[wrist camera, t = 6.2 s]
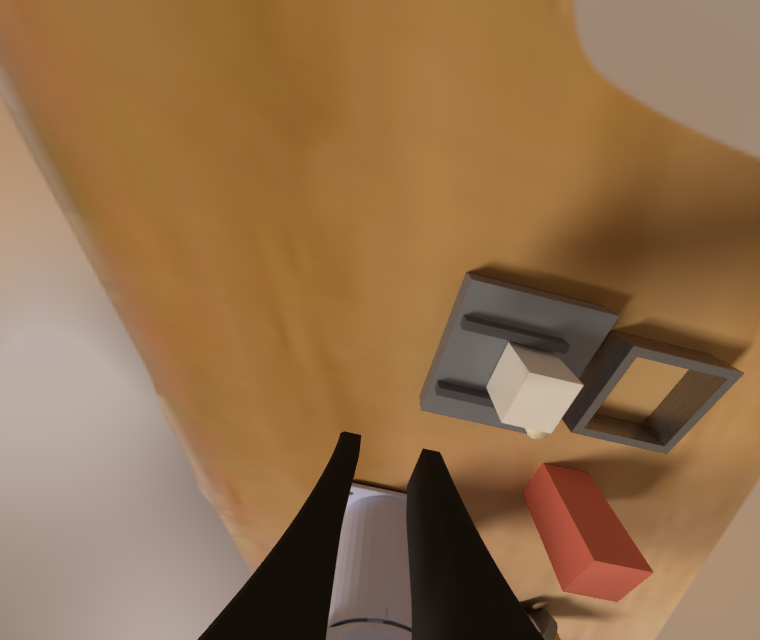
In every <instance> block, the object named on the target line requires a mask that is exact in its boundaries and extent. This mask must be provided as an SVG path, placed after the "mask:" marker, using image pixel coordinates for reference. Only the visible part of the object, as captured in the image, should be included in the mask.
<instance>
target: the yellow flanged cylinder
mask: <svg viewBox="0 0 760 640" xmlns="http://www.w3.org/2000/svg"><path fill="white" fill-rule="evenodd" d="M527 615H528V614H527ZM528 616H529V615H528ZM529 618H530V619H531V621H532V622H533V624H534V625H535V627H536V628H537V630H538V631H539V632H540V634H541V635H542V637H543V638H544V639H545V640H560V638H559V635H558V633H557V623H556V621H555V620H554V619H553V617H552V616H551V615H550V613H549V612H548V611H547V610H539V611H537V612H535V613H533V614H532V615H531V616H529Z"/></svg>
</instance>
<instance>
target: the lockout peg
mask: <svg viewBox="0 0 760 640" xmlns="http://www.w3.org/2000/svg"><path fill="white" fill-rule="evenodd" d="M523 495H524V497H525V500H526V502H527V505H528V507H529V510H530V512H531V515H532V517H533V520H534V522H535V524H536V527H537V529H538V532H539V534H540V537H541V539H542V542H543V544H544V547H545V549H546V552H547V554H548V556H549V559H550V561H551V564H552V566H553V569H554V571H555V574H556V576H557V579H558V581H559V584H560V586H561V588H562V591H563V592H568V593H574V594H579V595H584V596H589V597H594V598H599V599H605V600H610V601H615V602H618V601H619V600H620V599H622V598H623V597H624V596H625V595H626V594H628V593H629V592H630V591H631V590H633V589H634V588H635V587H636V586H638V585H639V584H640V583H641V582H643V581H644V580H645V579H646V578H648V577H649V576H650V575H651V574H653V573H654V572H653V571H652V569H651V568H650V566H649V565H648V563H647V562H646V560H645V559H644V557H643V556H642V554H641V553H640V551H639V550H638V548H637V547H636V545H635V544H634V542H633V541H632V539H631V537H630V536H629V534H628V533H627V531H626V530H625V528H624V527H623V525H622V524H621V522H620V521H619V519H618V518H617V516H616V515H615V513H614V512H613V510H612V509H611V507H610V506H609V504H608V503H607V501H606V500H605V498H604V497H603V495H602V494H601V492H600V491H599V489H598V488H597V486H596V484H595V483H594V481H593V480H592V478H591V477H590V475H589V474H588V473H586V472H582V471H577V470H573V469H568V468H563V467H559V466H554V465H550V464H545V463H543V464H542V466H541V467H540V469H539V470H538V471H537V473H536V474H535V476H534V477H533V479H532V480H531V481H530V483H529V484H528V486H527V487H526V489H525V490H524V491H523Z"/></svg>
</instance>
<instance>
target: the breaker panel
mask: <svg viewBox="0 0 760 640" xmlns="http://www.w3.org/2000/svg"><path fill="white" fill-rule="evenodd" d="M618 318H619V316H618V315H617V314H615V313H613V312H612V311H610V310H608V309H607V308H605V307H603V306H600V305H596V304H592V303H588V302H584V301H580V300H576V299H572V298H568V297H564V296H560V295H556V294H552V293H548V292H544V291H540V290H536V289H532V288H528V287H524V286H520V285H515V284H511V283H507V282H503V281H499V280H495V279H491V278H487V277H483V276H479V275H475V274H471V273H467V272H466V275H465V277H464V280H463V283H462V285H461V288H460V291H459V293H458V296H457V298H456V301H455V304H454V306H453V309H452V312H451V314H450V317H449V320H448V322H447V325H446V328H445V330H444V333H443V336H442V338H441V341H440V344H439V346H438V349H437V352H436V354H435V357H434V360H433V362H432V365H431V367H430V370H429V373H428V375H427V378H426V381H425V383H424V386H423V389H422V391H421V394H420V405H421V410H423V411H427V412H432V413H436V414H440V415H445V416H449V417H454V418H458V419H463V420H467V421H472V422H476V423H481V424H485V425H490V426H494V427H499V428H503V429H508V430H512V431H517V432H521V433H526V434H528V435H529V437H531V438H533V439H542V438H545V437H547V436H548V435H549V433H545V432H540V431H536V430H531V429H527V428H523V427H518V426H514V425H509V424H505V423H501V421H500V418H499V416H498V414H497V411H496V409H495V407H494V404H493V402H492V400H491V397H490V395H489V393H488V391H487V388H486V386H487V384H488V382H489V380H490V378H491V376H492V374H493V372H494V370H495V368H496V366H497V364H498V362H499V360H500V358H501V356H502V354H503V352H504V350H505V348H506V346H507V344H508V342H510V343H515V344H519V345H523V346H527V347H531V348H536V349H540V350H544V351H548V352H552V353H555V354H556V355H557V357H558V358H559V359H560V360H561V361H562V362H563V363H564V364H565V365H566V366H567V367H568V368H569V370H570V371H571V372H572V373H573V374H574V375H575V376H576V377H577V378H579V377H580V375H581V374H582V372H583V371H584V369H585V368H586V366H587V365H588V363H589V362H590V360H591V359H592V357H593V356H594V354H595V352H596V351H597V349H598V348H599V346H600V345H601V343H602V342H603V340H604V339H605V337H606V336H607V334H608V333H609V331H610V330H611V328H612V327H613V325H614V324H615V322H616V321H617V319H618Z"/></svg>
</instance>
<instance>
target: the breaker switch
mask: <svg viewBox="0 0 760 640" xmlns="http://www.w3.org/2000/svg"><path fill="white" fill-rule="evenodd" d="M583 386H584V385H583V384H582V382H581V381H580V380H579V379H578V378H577V377H576V376H575V375H574V374H573V373H572V372H571V371H570V370H569V368H568V367H567V366H566V365H565V364H564V363H563V362H562V361H561V360H560V359H559V358H558V357H557V355H556V354H555V353H552V352H548V351H544V350H540V349H536V348H531V347H527V346H523V345H519V344H515V343H510V342H508V344H507V346H506V348H505V350H504V352H503V354H502V356H501V358H500V360H499V362H498V364H497V366H496V368H495V370H494V372H493V374H492V376H491V378H490V380H489V382H488V384H487V386H486V388H487V391H488V393H489V395H490V397H491V400H492V402H493V404H494V407H495V409H496V411H497V414H498V416H499V418H500V421H501V423H505V424H509V425H514V426H518V427H523V428H527V429H531V430H536V431H540V432H545V433H549V434H551V433H552V432H553V430H554V429H555V427H556V426H557V424H558V423H559V421H560V420H561V418H562V417H563V415H564V414H565V412H566V411H567V410H568V408H569V407H570V405H571V404H572V402H573V401H574V399H575V398H576V396H577V395H578V393H579V392H580V390H581V389H582V387H583Z"/></svg>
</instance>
